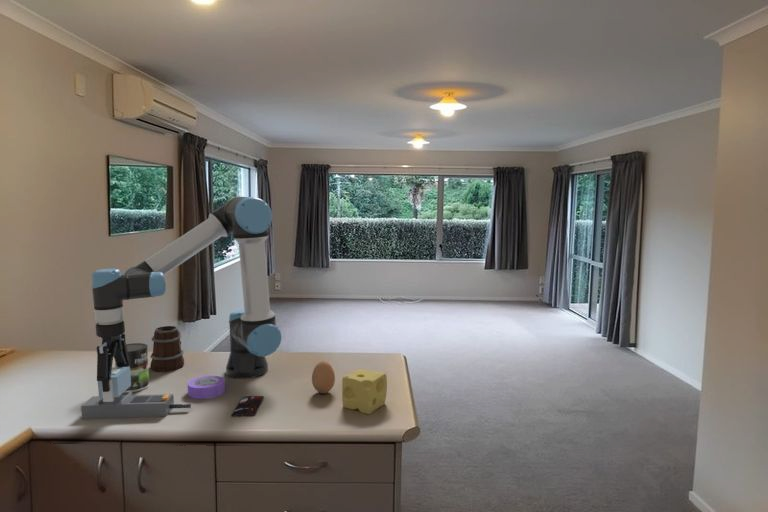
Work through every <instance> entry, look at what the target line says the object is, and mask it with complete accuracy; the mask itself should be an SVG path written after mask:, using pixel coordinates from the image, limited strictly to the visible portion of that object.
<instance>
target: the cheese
mask: <svg viewBox="0 0 768 512" xmlns="http://www.w3.org/2000/svg"><path fill="white" fill-rule="evenodd" d="M387 377H388V376H387V373H385V372H379V371H372V370H369V369H368V370H367V369H364V368H358V369H356V370H354V371H353V372H351V373H350V374H346V375H345V376H343V377H342V380H341V381H342V382H341V384H342V385H341V386H342V387H341V388H342V389H341V390H342V391H341V392H342V397H341V399H342V401H341V402H342V407H343V408H346V409H348V410H353V411H355V410H359V412H360V413H363V414H365V415H370V414H372V413H373V412H374V411H376V410H377V409H379V408H380V407H383V406H384V405H385V404H386V400H387V399H386V398H387V392H388V391H387V389H388V380H387Z"/></svg>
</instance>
